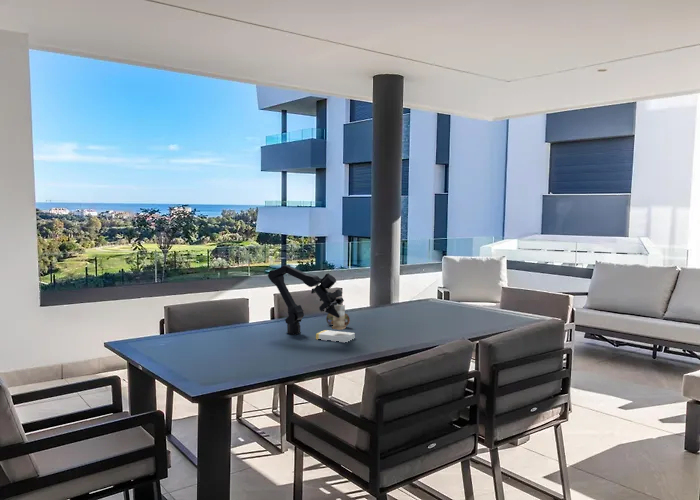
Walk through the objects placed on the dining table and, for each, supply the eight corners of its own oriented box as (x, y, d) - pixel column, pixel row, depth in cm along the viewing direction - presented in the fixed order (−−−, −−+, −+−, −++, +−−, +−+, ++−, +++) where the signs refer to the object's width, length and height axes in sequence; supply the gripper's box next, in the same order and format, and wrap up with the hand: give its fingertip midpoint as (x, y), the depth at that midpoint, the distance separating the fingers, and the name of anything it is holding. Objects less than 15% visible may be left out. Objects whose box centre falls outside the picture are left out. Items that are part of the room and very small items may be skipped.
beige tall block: (331, 328, 288) (332, 305, 287) (336, 327, 293) (337, 304, 292) (340, 329, 285) (341, 306, 285) (345, 328, 290) (346, 305, 290)
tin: (326, 325, 327) (326, 311, 326) (328, 324, 330) (328, 310, 329) (347, 328, 320) (348, 314, 319) (350, 327, 323) (350, 313, 322)
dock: (316, 339, 289) (316, 333, 289) (324, 335, 299) (324, 329, 299) (346, 342, 282) (346, 337, 281) (354, 338, 292) (354, 333, 292)
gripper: (324, 286, 281) (342, 309, 277) (341, 283, 298) (358, 304, 293) (311, 300, 285) (329, 323, 281) (328, 296, 302) (345, 317, 298)
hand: (341, 316), depth 288 cm, fingers closed on beige tall block, 4 cm apart
